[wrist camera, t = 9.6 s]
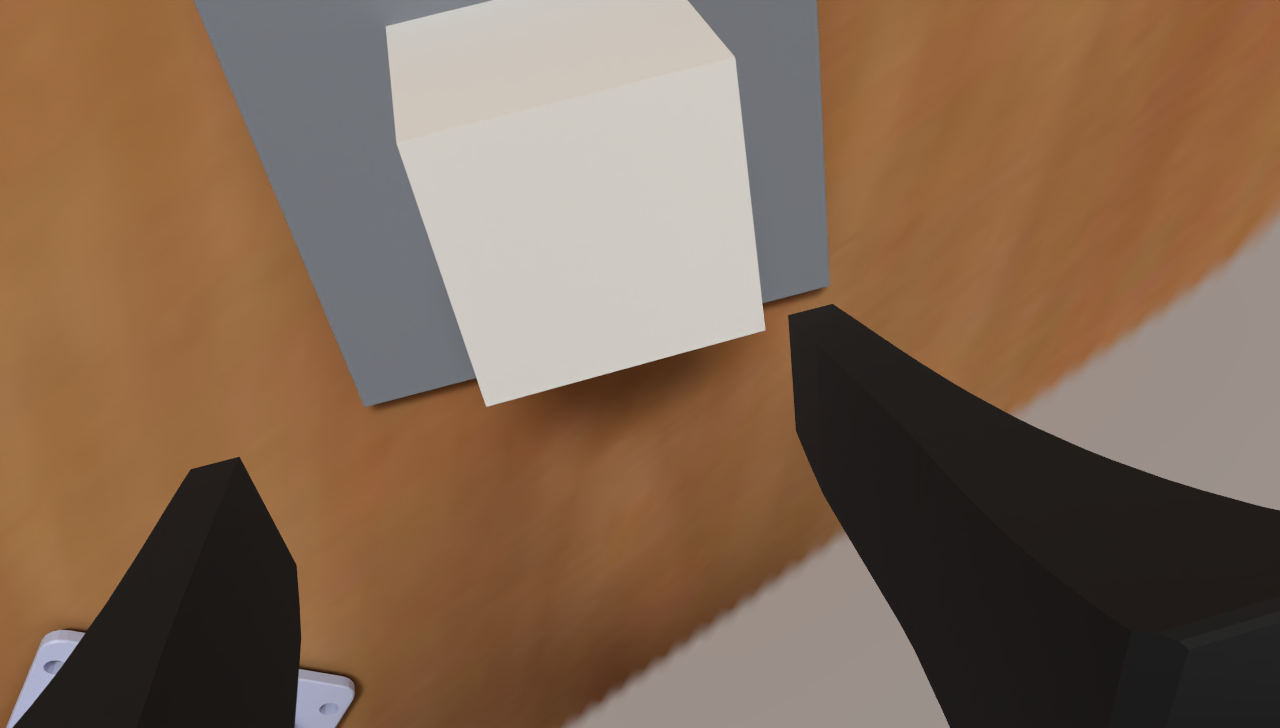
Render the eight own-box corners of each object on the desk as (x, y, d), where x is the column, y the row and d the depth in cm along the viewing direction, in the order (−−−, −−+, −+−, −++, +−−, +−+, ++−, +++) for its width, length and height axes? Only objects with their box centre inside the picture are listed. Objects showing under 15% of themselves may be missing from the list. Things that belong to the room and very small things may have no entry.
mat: (820, 272, 25) (829, 285, 24) (364, 391, 24) (364, 407, 23) (793, -255, 18) (805, -252, 17) (152, -119, 17) (147, -110, 16)
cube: (690, 198, 22) (765, 330, 18) (460, 259, 22) (486, 406, 18) (654, -39, 19) (735, 57, 15) (385, 26, 19) (396, 143, 15)
